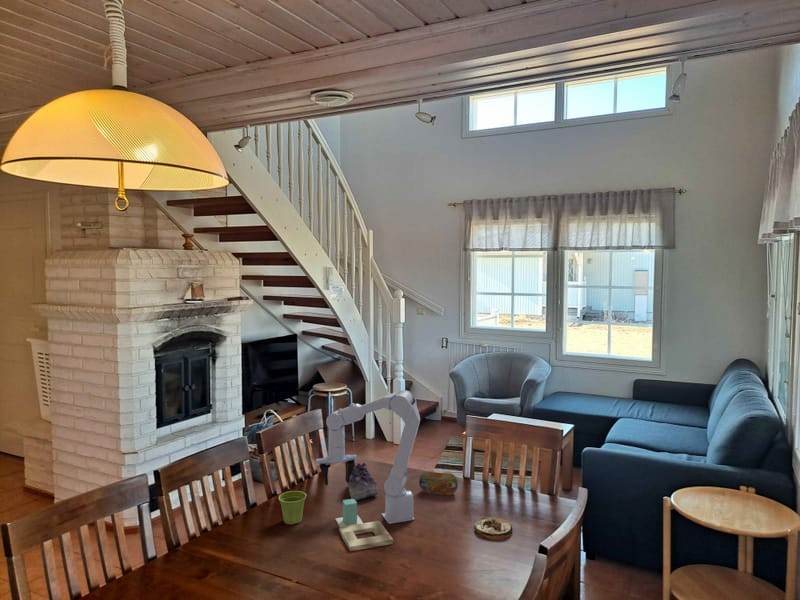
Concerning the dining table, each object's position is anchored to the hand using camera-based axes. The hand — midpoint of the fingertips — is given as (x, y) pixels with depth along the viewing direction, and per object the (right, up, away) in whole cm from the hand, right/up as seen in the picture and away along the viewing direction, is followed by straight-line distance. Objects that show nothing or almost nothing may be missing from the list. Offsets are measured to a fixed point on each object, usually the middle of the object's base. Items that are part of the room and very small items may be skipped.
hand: (336, 483), depth 198 cm
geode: (+7, -10, +19) cm, 23 cm away
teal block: (+5, -11, -8) cm, 14 cm away
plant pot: (-14, -11, -7) cm, 19 cm away
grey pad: (+5, -11, -8) cm, 15 cm away
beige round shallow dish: (+53, -12, -14) cm, 56 cm away
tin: (+37, -10, +18) cm, 42 cm away
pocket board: (+11, -11, -19) cm, 25 cm away
